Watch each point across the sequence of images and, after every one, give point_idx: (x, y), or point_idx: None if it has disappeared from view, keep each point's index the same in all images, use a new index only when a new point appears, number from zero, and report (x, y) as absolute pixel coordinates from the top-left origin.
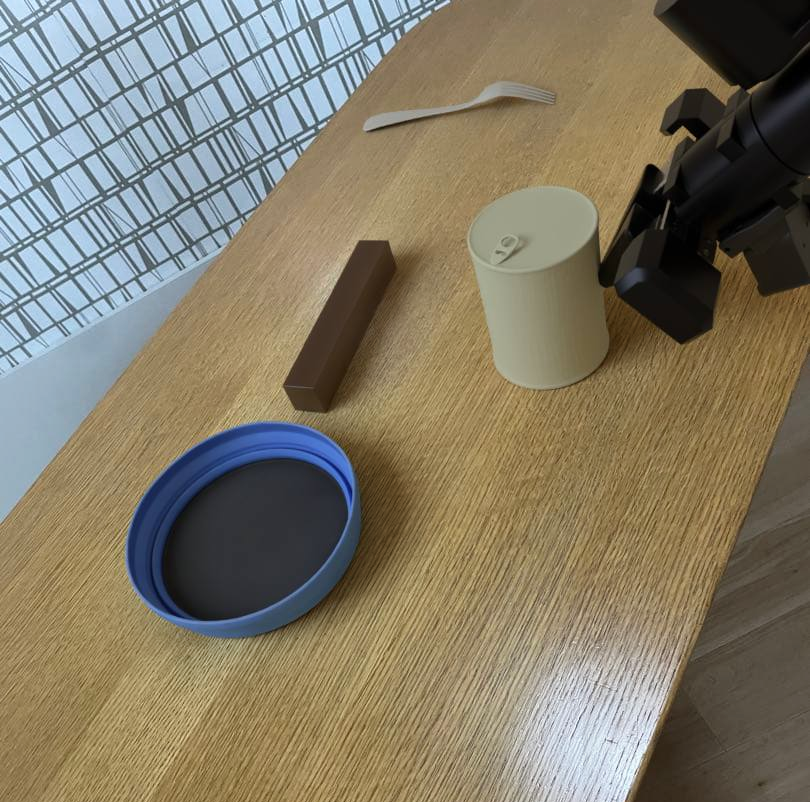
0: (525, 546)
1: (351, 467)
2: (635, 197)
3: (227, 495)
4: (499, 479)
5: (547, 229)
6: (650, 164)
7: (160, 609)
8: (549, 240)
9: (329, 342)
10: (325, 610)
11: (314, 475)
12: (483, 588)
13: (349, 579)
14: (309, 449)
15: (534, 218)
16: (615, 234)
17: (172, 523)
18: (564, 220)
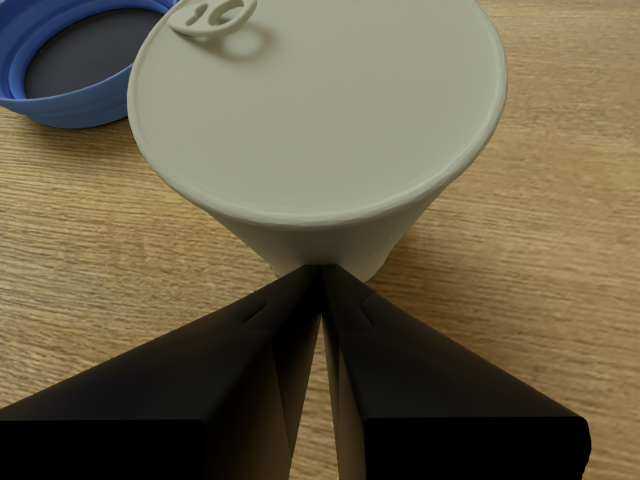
0: (63, 265)
1: (104, 80)
2: (362, 421)
3: (148, 28)
4: (146, 221)
5: (297, 92)
6: None
7: (26, 20)
8: (246, 108)
9: None
10: (34, 128)
11: None
12: (26, 239)
13: (59, 134)
14: None
15: (347, 53)
16: (347, 290)
17: (124, 6)
18: (340, 124)
